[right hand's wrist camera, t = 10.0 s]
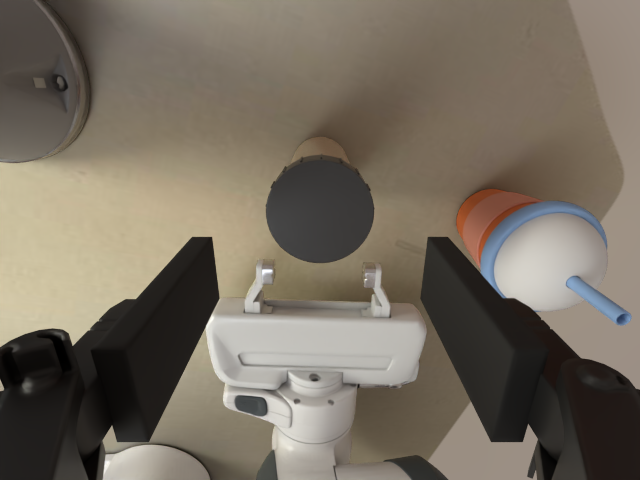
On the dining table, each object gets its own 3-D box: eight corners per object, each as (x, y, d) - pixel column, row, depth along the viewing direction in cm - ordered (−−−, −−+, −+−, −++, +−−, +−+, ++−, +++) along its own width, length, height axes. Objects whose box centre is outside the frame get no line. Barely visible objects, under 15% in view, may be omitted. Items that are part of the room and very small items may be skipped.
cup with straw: (550, 209, 37) (743, 306, 20) (483, 273, 39) (604, 404, 23) (488, 154, 34) (647, 210, 18) (422, 225, 37) (506, 331, 20)
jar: (333, 126, 34) (344, 149, 20) (356, 178, 36) (380, 233, 21) (282, 151, 35) (256, 190, 20) (307, 200, 36) (298, 267, 22)
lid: (346, 134, 21) (348, 138, 19) (385, 227, 23) (391, 239, 21) (251, 180, 22) (245, 188, 20) (297, 265, 24) (295, 279, 22)
